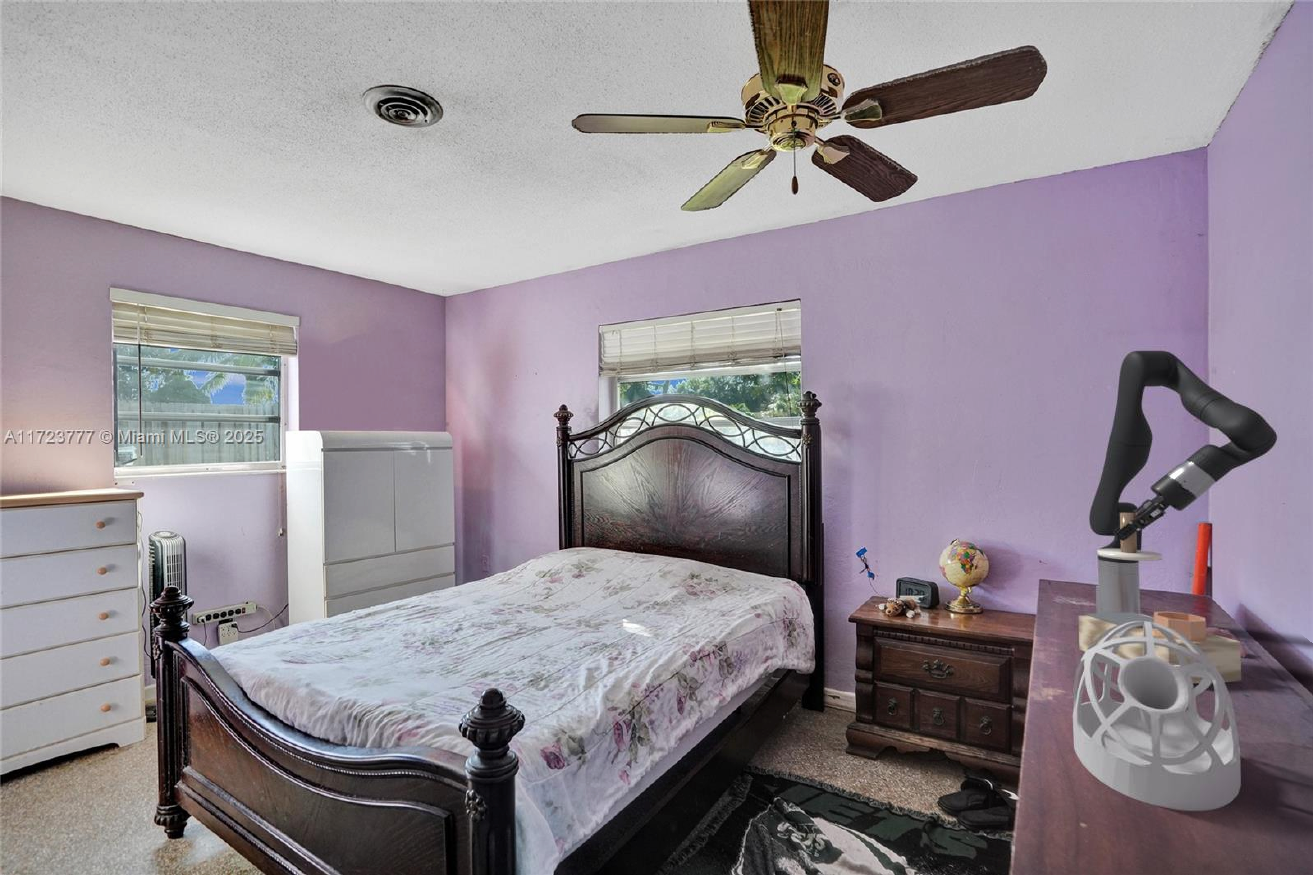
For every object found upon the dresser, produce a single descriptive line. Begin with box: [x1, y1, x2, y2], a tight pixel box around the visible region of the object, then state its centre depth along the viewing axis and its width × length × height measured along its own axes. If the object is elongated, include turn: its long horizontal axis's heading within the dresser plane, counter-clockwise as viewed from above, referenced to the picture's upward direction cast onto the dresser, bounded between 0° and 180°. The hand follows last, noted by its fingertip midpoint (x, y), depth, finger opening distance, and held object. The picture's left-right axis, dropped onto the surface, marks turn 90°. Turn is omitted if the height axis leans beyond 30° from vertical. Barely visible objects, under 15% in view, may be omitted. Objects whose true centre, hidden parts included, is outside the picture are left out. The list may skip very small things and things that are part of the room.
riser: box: [1078, 613, 1242, 684], centre depth 143 cm, size 24×16×8 cm, turn 6°
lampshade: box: [1072, 621, 1242, 812], centre depth 95 cm, size 20×26×20 cm
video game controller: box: [1206, 627, 1247, 658], centre depth 150 cm, size 10×5×7 cm, turn 85°
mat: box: [1085, 612, 1154, 628], centre depth 149 cm, size 12×12×1 cm
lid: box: [1096, 513, 1163, 562], centre depth 149 cm, size 12×12×10 cm
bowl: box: [1153, 611, 1207, 641], centre depth 136 cm, size 8×8×4 cm
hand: (1117, 536), depth 150 cm, fingers closed on lid, 3 cm apart
